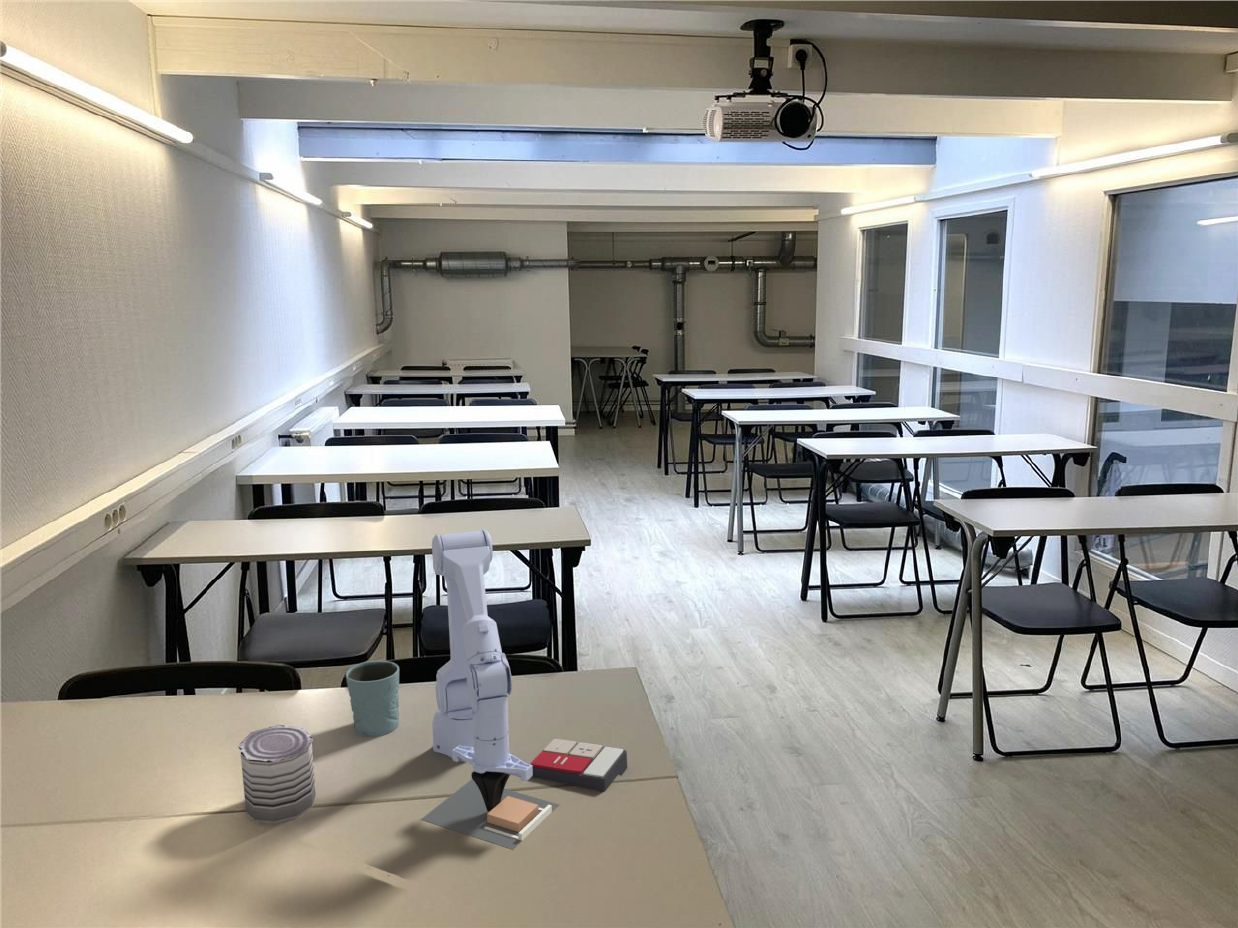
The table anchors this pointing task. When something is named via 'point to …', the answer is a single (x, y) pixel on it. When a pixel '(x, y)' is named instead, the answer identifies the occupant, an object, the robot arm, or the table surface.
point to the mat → (484, 816)
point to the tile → (512, 813)
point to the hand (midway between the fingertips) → (493, 808)
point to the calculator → (580, 764)
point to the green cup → (374, 697)
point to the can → (278, 773)
